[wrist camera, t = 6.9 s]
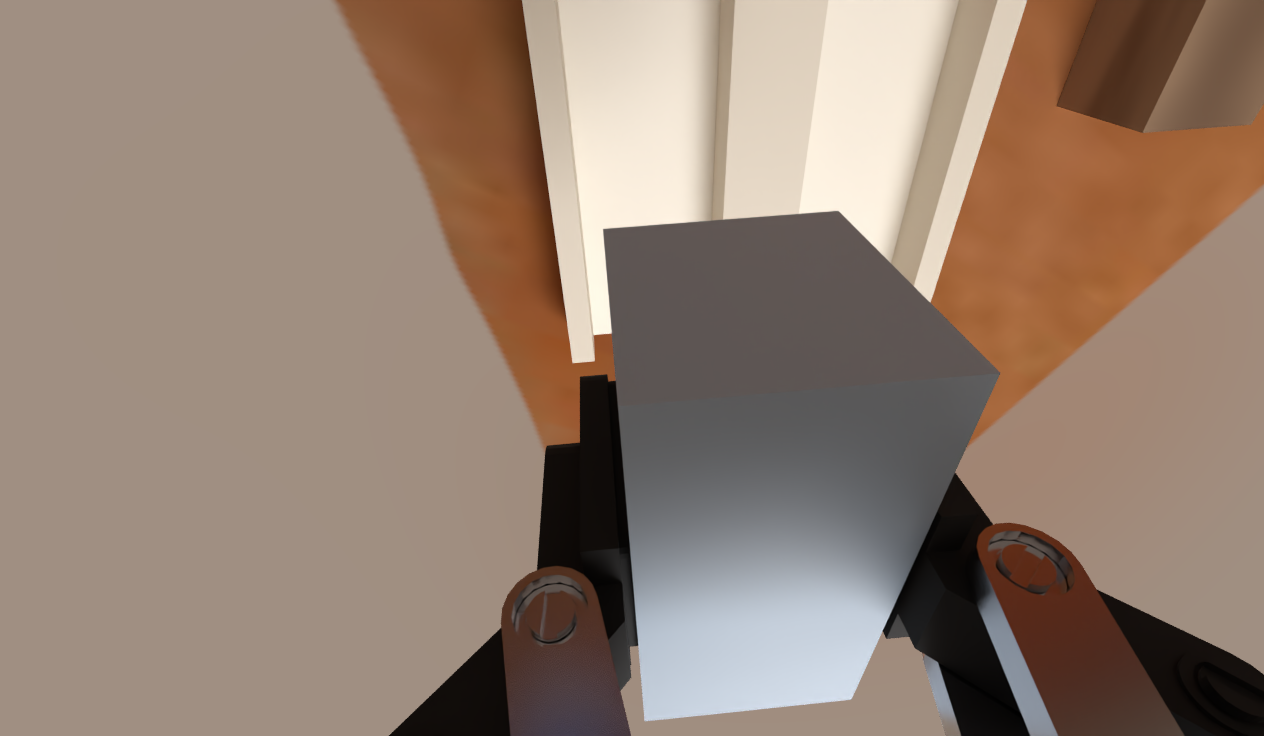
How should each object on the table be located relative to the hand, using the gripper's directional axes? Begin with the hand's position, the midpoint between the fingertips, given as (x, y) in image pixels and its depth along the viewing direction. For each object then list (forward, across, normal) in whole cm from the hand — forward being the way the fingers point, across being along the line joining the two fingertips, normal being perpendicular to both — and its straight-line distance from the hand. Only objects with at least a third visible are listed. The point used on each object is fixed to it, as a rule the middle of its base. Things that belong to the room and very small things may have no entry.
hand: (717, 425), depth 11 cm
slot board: (+15, -4, 0) cm, 16 cm away
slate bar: (+1, 0, 0) cm, 1 cm away
